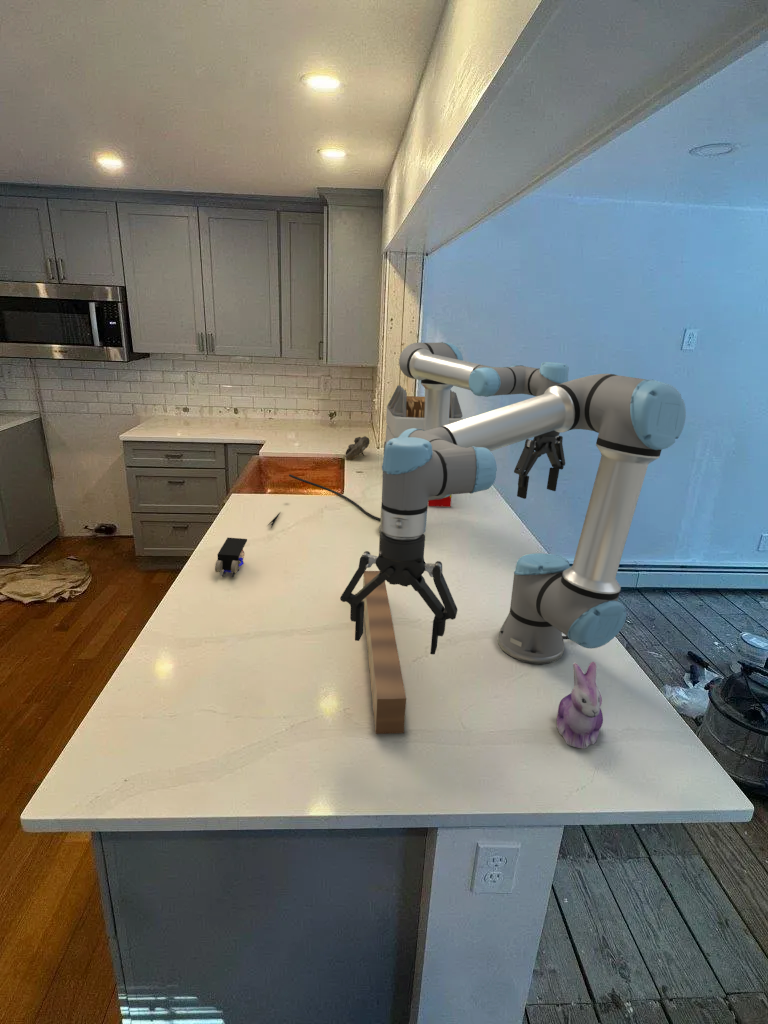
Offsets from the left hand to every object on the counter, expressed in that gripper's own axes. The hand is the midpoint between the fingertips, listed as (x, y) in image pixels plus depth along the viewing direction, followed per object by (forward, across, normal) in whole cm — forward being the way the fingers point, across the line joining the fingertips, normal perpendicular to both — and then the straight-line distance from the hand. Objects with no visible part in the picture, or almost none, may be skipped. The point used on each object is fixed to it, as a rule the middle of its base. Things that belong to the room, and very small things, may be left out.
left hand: (536, 493), depth 164 cm
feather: (+26, -39, +84) cm, 96 cm away
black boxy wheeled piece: (+26, -72, +51) cm, 92 cm away
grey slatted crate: (+26, +47, +102) cm, 115 cm away
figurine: (+26, -47, -50) cm, 73 cm away
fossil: (+27, +40, +144) cm, 151 cm away
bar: (+26, -62, -7) cm, 67 cm away
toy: (+26, +29, +71) cm, 81 cm away
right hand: (+7, -75, -29) cm, 81 cm away
